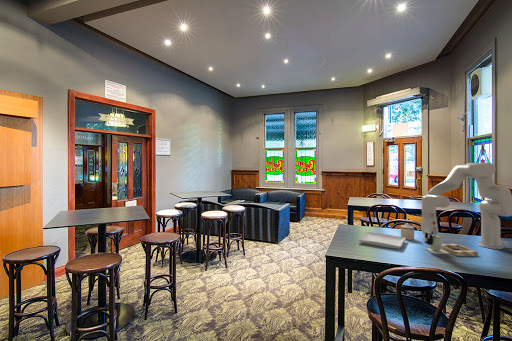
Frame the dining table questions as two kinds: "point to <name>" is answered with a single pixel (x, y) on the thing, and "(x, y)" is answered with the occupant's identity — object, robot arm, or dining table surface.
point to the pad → (437, 251)
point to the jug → (435, 243)
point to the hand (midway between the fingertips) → (428, 243)
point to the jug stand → (461, 252)
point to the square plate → (382, 240)
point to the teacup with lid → (407, 231)
